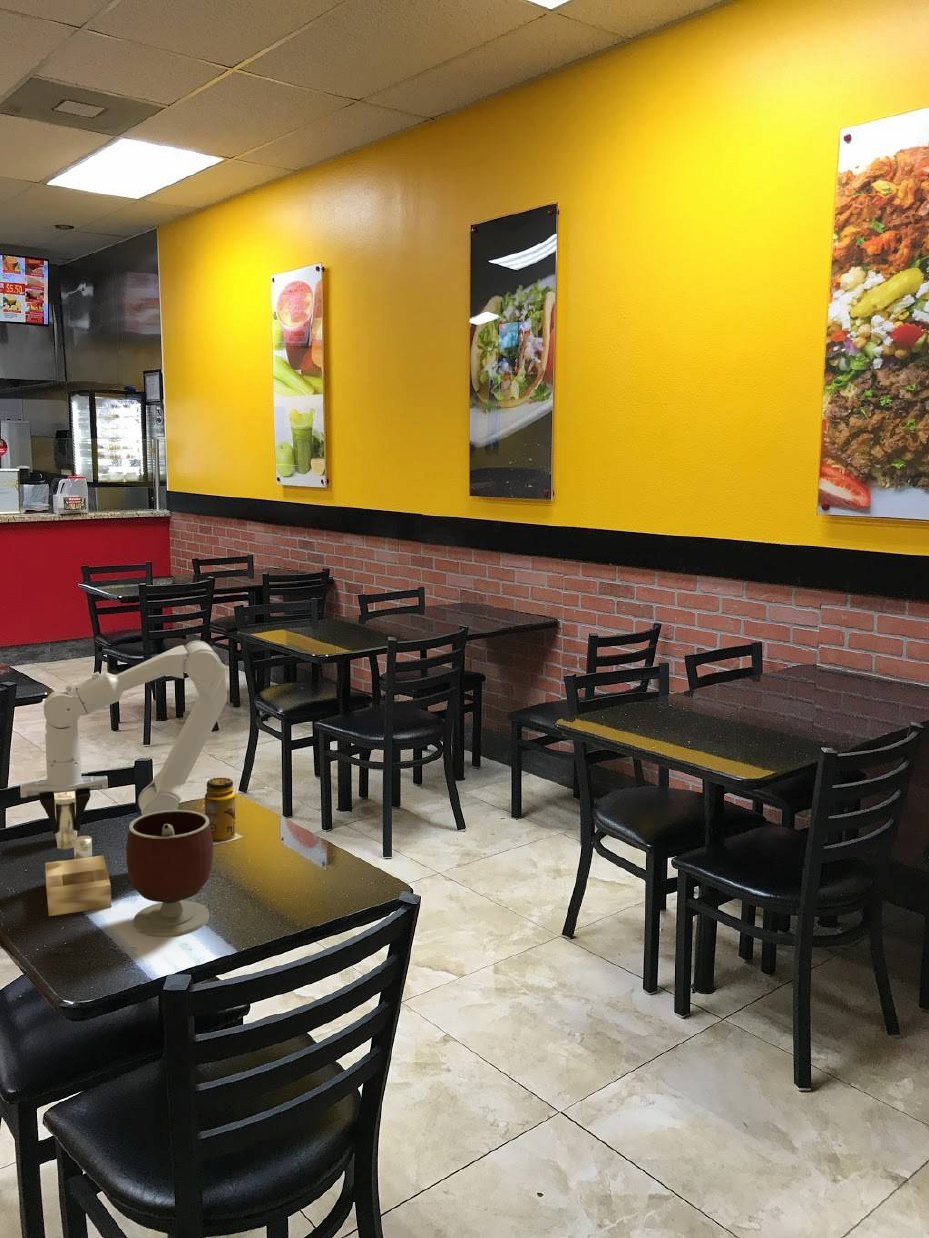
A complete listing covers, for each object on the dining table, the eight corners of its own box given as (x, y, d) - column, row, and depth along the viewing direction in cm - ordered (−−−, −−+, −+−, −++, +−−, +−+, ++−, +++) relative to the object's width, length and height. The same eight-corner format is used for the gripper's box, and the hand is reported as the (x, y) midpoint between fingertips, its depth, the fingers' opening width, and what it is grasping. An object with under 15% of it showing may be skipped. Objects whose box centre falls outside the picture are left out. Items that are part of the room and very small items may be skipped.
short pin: (95, 855, 195) (94, 836, 194) (87, 862, 192) (87, 842, 191) (79, 854, 195) (78, 835, 194) (71, 861, 192) (70, 841, 191)
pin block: (104, 875, 186) (103, 855, 185) (111, 906, 173) (110, 884, 172) (46, 883, 181) (45, 862, 181) (48, 916, 169) (47, 893, 168)
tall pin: (79, 843, 183) (77, 801, 182) (71, 849, 180) (69, 807, 178) (62, 841, 183) (61, 800, 182) (54, 848, 180) (52, 805, 179)
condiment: (243, 837, 206) (243, 781, 204) (207, 847, 200) (206, 790, 198) (225, 827, 211) (224, 773, 209) (188, 837, 205) (187, 781, 204)
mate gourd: (132, 905, 174) (129, 794, 171) (214, 899, 177) (213, 790, 174) (123, 947, 159) (119, 827, 156) (213, 940, 162) (211, 822, 159)
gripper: (104, 748, 185) (107, 818, 187) (19, 755, 180) (22, 827, 182) (107, 758, 179) (110, 831, 181) (19, 766, 173) (22, 841, 175)
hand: (66, 830), depth 181 cm, fingers closed on tall pin, 3 cm apart
